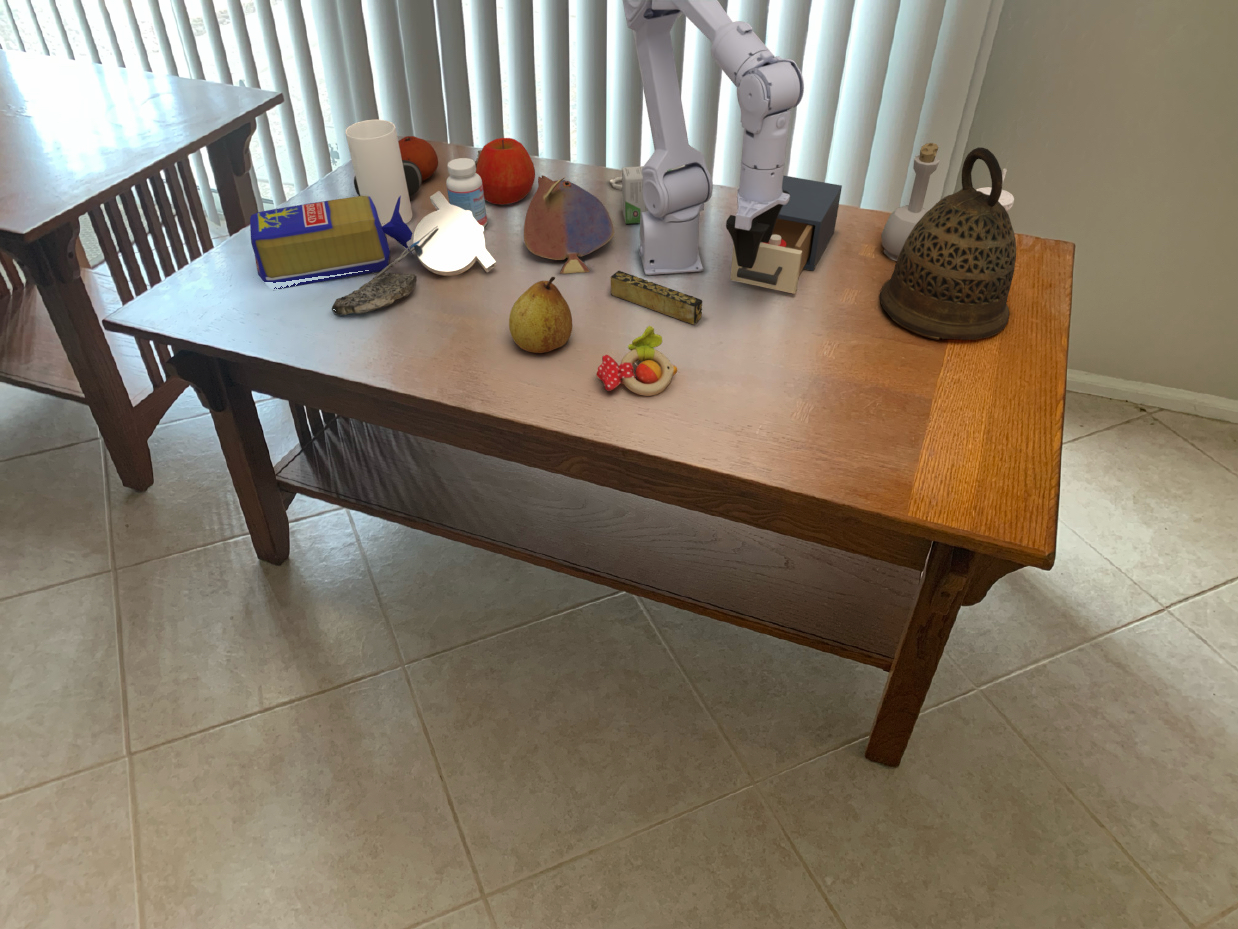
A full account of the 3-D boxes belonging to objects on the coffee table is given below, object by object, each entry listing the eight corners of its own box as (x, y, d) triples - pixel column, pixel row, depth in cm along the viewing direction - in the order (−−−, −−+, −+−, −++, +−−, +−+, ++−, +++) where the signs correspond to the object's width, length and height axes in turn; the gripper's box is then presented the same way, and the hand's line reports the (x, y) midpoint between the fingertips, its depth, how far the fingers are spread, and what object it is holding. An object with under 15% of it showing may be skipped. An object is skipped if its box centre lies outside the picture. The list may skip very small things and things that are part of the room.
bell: (973, 388, 129) (1024, 285, 134) (1030, 294, 105) (1088, 173, 110) (856, 339, 134) (909, 242, 139) (885, 239, 110) (947, 126, 115)
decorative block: (702, 318, 129) (703, 298, 127) (693, 326, 128) (694, 305, 125) (618, 288, 136) (618, 268, 133) (610, 295, 134) (609, 275, 132)
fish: (514, 152, 139) (606, 144, 140) (520, 200, 151) (605, 193, 152) (525, 255, 133) (621, 247, 134) (530, 297, 145) (618, 289, 146)
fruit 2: (502, 338, 126) (492, 267, 117) (557, 319, 129) (551, 249, 121) (527, 370, 121) (519, 298, 112) (584, 349, 124) (580, 278, 115)
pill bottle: (486, 232, 149) (477, 170, 142) (451, 233, 149) (440, 171, 142) (489, 216, 154) (481, 155, 146) (455, 217, 154) (445, 156, 146)
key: (605, 183, 161) (613, 174, 164) (605, 188, 161) (614, 178, 164) (666, 193, 158) (673, 183, 160) (666, 197, 158) (673, 188, 161)
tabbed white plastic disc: (508, 253, 138) (453, 280, 133) (496, 280, 145) (443, 307, 139) (452, 182, 139) (395, 206, 134) (442, 212, 146) (388, 236, 140)
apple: (534, 210, 155) (529, 152, 148) (474, 210, 155) (466, 153, 148) (539, 183, 163) (534, 127, 155) (482, 183, 163) (474, 128, 156)
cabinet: (813, 270, 138) (821, 221, 133) (744, 256, 142) (749, 208, 136) (834, 232, 147) (842, 185, 141) (768, 220, 151) (774, 173, 145)
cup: (422, 213, 155) (405, 125, 144) (390, 233, 150) (370, 142, 139) (388, 203, 158) (369, 115, 147) (356, 221, 153) (334, 132, 142)
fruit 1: (387, 188, 163) (378, 146, 157) (403, 167, 169) (395, 127, 164) (431, 190, 162) (424, 149, 156) (446, 170, 168) (439, 129, 162)
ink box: (622, 212, 154) (686, 207, 155) (625, 225, 151) (691, 220, 151) (621, 166, 148) (688, 161, 149) (624, 178, 145) (693, 174, 146)
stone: (325, 302, 131) (332, 318, 133) (360, 314, 126) (367, 331, 128) (392, 256, 138) (398, 272, 140) (427, 266, 133) (433, 282, 135)
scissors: (382, 275, 130) (378, 271, 129) (362, 293, 136) (358, 289, 136) (440, 228, 137) (436, 223, 137) (419, 247, 144) (415, 243, 143)
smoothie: (999, 262, 139) (1026, 180, 130) (958, 258, 140) (981, 176, 131) (995, 242, 144) (1020, 162, 134) (955, 239, 145) (977, 159, 135)
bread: (262, 265, 143) (241, 207, 135) (411, 239, 148) (399, 183, 141) (263, 297, 136) (242, 238, 128) (420, 269, 141) (408, 211, 134)
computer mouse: (348, 167, 155) (348, 175, 152) (415, 153, 156) (417, 160, 153) (361, 205, 159) (361, 212, 156) (426, 190, 161) (427, 198, 157)
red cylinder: (763, 272, 135) (766, 243, 131) (758, 260, 137) (761, 232, 134) (785, 270, 135) (789, 242, 131) (780, 259, 137) (784, 230, 134)
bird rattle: (694, 349, 116) (642, 312, 118) (645, 393, 110) (591, 354, 112) (683, 379, 121) (633, 343, 123) (636, 423, 115) (584, 384, 117)
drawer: (786, 308, 129) (792, 268, 124) (721, 293, 132) (724, 254, 128) (815, 255, 140) (821, 217, 136) (754, 243, 143) (758, 205, 139)
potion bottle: (941, 251, 142) (970, 144, 130) (914, 272, 138) (941, 163, 125) (894, 234, 147) (917, 129, 134) (866, 253, 142) (888, 147, 130)
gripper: (776, 188, 107) (765, 283, 116) (807, 144, 117) (795, 235, 126) (722, 179, 109) (716, 273, 119) (757, 136, 119) (749, 226, 128)
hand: (753, 253), depth 122 cm, fingers open, 7 cm apart
